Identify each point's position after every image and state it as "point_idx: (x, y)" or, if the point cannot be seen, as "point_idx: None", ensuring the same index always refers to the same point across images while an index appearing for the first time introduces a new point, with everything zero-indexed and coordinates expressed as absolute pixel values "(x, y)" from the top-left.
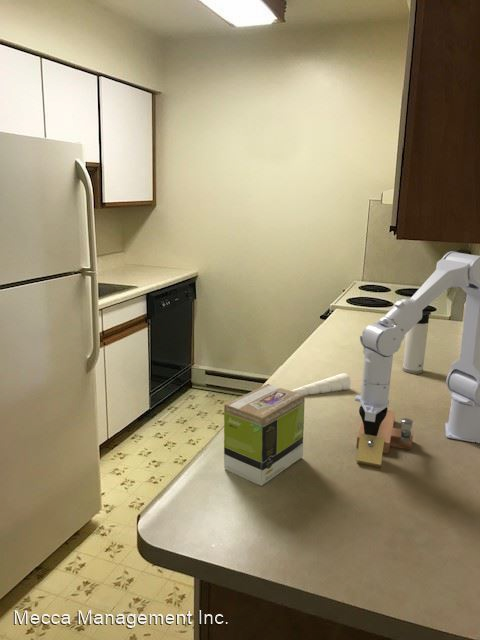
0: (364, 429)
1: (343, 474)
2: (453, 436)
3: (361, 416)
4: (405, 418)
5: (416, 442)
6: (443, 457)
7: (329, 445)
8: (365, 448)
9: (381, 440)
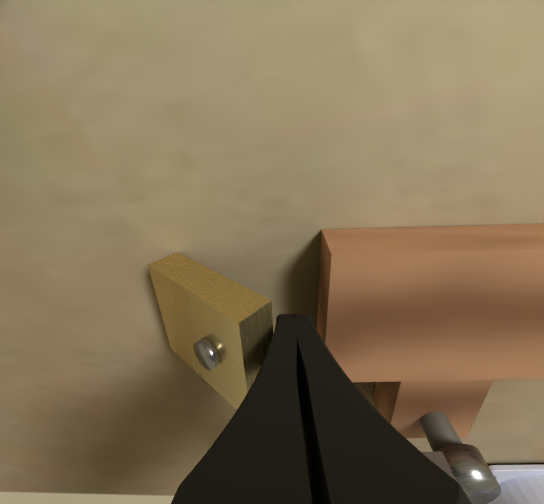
0: (267, 354)
1: (42, 219)
2: None
3: (195, 468)
4: (499, 490)
5: None
6: None
7: (287, 84)
8: (190, 318)
9: (235, 403)
